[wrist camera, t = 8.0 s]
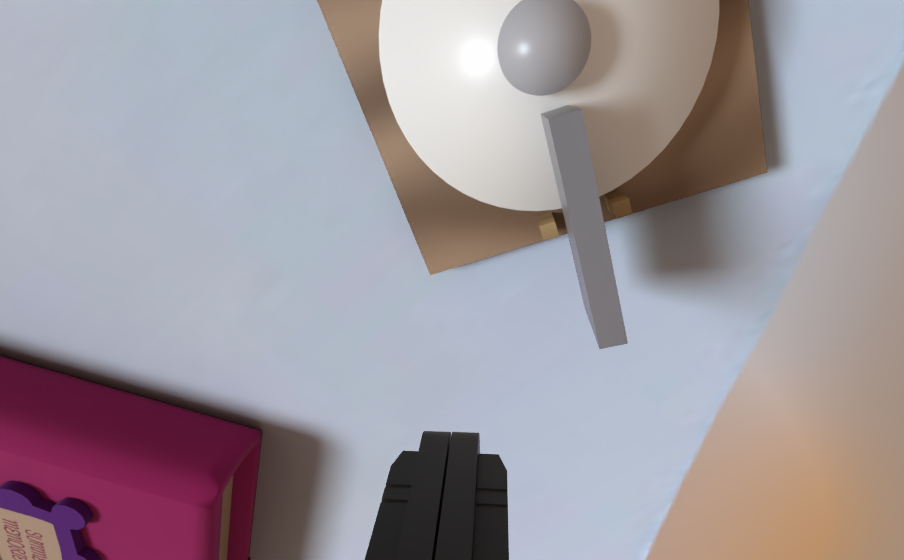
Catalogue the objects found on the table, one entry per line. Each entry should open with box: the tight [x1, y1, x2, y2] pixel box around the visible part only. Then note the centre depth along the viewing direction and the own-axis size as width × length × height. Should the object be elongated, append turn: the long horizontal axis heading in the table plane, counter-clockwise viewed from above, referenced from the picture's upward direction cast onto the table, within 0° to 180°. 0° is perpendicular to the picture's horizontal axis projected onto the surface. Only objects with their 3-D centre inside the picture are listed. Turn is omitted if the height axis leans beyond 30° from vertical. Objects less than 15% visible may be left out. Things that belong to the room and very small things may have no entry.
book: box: [0, 356, 262, 560], centre depth 35 cm, size 21×28×8 cm
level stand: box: [317, 0, 767, 275], centre depth 21 cm, size 18×18×3 cm
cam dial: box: [379, 0, 719, 349], centre depth 19 cm, size 20×14×6 cm
